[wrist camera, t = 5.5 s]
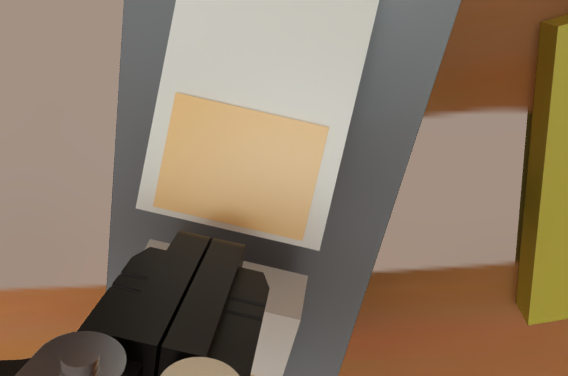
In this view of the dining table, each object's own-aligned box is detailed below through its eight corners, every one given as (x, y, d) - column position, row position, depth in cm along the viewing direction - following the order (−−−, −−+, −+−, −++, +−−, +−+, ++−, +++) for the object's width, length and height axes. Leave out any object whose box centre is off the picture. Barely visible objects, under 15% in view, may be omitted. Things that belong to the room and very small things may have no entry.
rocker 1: (201, -40, 14) (186, -66, 12) (374, -2, 14) (385, -22, 12) (153, 200, 15) (132, 209, 13) (318, 238, 15) (319, 252, 13)
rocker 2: (149, 238, 15) (126, 285, 14) (308, 275, 15) (299, 326, 14) (154, 352, 20) (137, 395, 19) (275, 380, 20) (267, 426, 19)
